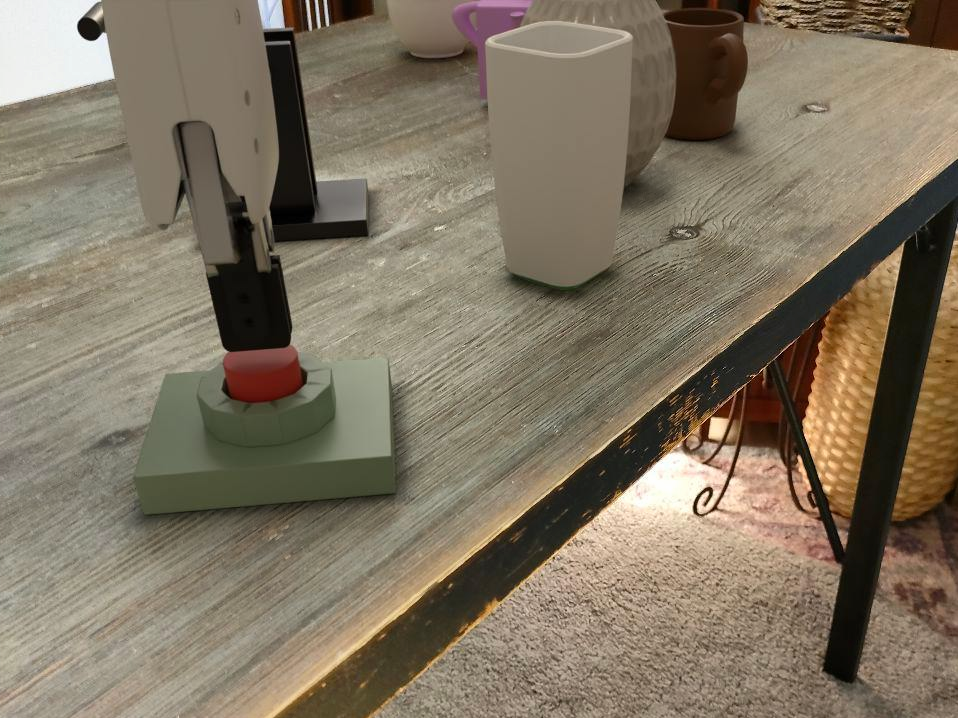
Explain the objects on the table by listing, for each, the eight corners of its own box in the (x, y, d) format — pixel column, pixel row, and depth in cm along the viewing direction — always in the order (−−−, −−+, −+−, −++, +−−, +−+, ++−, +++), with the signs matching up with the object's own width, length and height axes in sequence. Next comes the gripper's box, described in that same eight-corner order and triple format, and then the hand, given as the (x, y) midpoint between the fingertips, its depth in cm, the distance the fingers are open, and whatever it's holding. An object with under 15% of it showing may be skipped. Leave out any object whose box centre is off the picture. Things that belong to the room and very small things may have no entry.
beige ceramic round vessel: (464, 36, 125) (459, -53, 119) (497, 56, 117) (494, -38, 112) (378, 47, 122) (368, -44, 116) (406, 68, 114) (398, -29, 108)
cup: (484, 279, 70) (472, 41, 61) (549, 244, 75) (547, 18, 66) (572, 306, 67) (573, 58, 58) (634, 268, 72) (644, 33, 62)
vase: (507, 159, 90) (499, -62, 79) (655, 153, 90) (666, -68, 80) (518, 214, 80) (511, -31, 69) (684, 206, 80) (701, -38, 70)
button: (225, 409, 51) (218, 377, 49) (233, 373, 53) (226, 342, 52) (301, 403, 51) (295, 371, 50) (304, 368, 54) (299, 337, 53)
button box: (144, 515, 50) (122, 445, 47) (174, 408, 58) (157, 343, 55) (396, 493, 51) (387, 423, 49) (392, 391, 59) (384, 326, 56)
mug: (773, 151, 90) (787, 33, 85) (693, 161, 89) (702, 41, 83) (712, 112, 99) (721, 3, 94) (638, 121, 98) (643, 11, 92)
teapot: (633, 104, 102) (637, -20, 95) (517, 129, 96) (513, -1, 90) (546, 72, 112) (545, -43, 105) (437, 93, 106) (428, -27, 100)
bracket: (202, 246, 76) (160, 57, 68) (216, 202, 83) (179, 26, 75) (368, 235, 77) (346, 48, 69) (368, 192, 84) (348, 18, 76)
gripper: (105, -118, 45) (199, 284, 56) (11, -65, 33) (155, 430, 44) (282, -125, 45) (340, 274, 57) (252, -75, 34) (333, 415, 45)
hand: (259, 341), depth 50 cm, fingers closed
